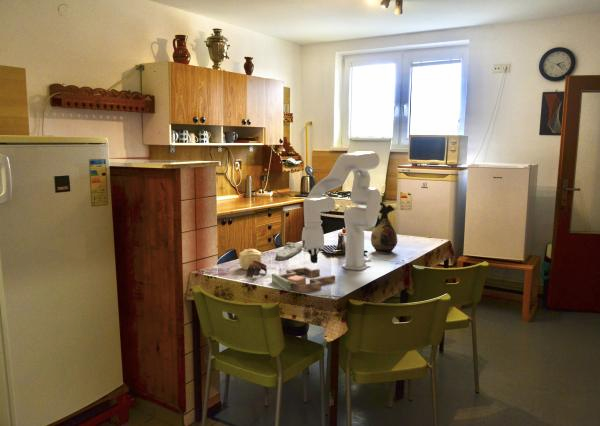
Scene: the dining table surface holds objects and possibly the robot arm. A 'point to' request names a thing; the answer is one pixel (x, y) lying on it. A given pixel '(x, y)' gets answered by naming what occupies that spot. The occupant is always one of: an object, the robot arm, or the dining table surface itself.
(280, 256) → the elongated rock
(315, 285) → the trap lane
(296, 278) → the block
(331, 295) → the dining table surface
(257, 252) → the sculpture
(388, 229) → the ceramic jug
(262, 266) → the brown animal figurine
